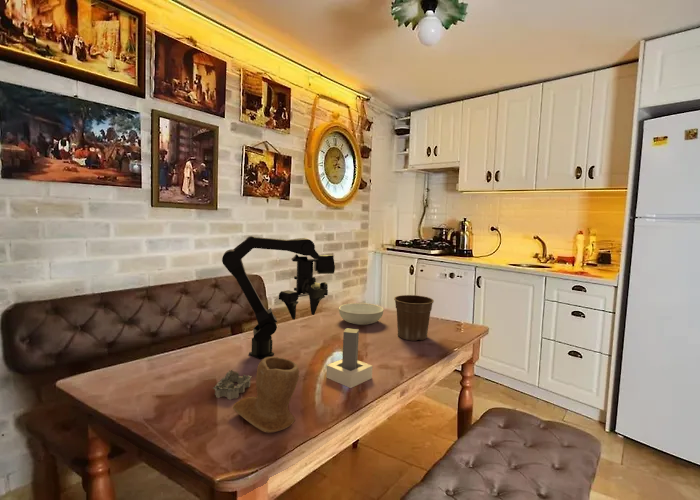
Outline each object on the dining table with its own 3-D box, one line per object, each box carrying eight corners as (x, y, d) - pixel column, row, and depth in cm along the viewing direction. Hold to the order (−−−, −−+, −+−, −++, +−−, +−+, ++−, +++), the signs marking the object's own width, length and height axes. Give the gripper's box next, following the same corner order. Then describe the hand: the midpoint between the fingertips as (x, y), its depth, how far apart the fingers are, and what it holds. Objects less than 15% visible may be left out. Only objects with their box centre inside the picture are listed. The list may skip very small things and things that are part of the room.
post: (341, 379, 119) (343, 331, 118) (344, 374, 123) (346, 328, 121) (354, 381, 118) (356, 333, 117) (356, 376, 122) (358, 329, 121)
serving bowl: (362, 314, 197) (363, 300, 196) (392, 324, 181) (392, 309, 180) (329, 320, 184) (329, 305, 183) (358, 331, 168) (358, 316, 167)
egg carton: (231, 381, 115) (232, 368, 115) (254, 385, 113) (255, 371, 113) (209, 397, 105) (209, 382, 105) (234, 402, 103) (234, 387, 103)
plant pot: (388, 339, 159) (390, 300, 157) (396, 328, 174) (398, 293, 172) (429, 345, 154) (431, 305, 152) (433, 333, 169) (435, 297, 168)
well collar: (350, 388, 113) (351, 375, 113) (326, 377, 120) (326, 365, 120) (371, 378, 121) (372, 365, 121) (347, 368, 128) (348, 356, 127)
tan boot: (307, 423, 94) (309, 363, 93) (264, 442, 86) (266, 376, 84) (272, 400, 105) (273, 345, 103) (231, 414, 96) (231, 356, 95)
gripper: (300, 280, 125) (298, 327, 127) (339, 274, 139) (337, 317, 141) (278, 275, 133) (277, 320, 134) (317, 270, 147) (316, 311, 148)
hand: (303, 317), depth 139 cm, fingers open, 9 cm apart
